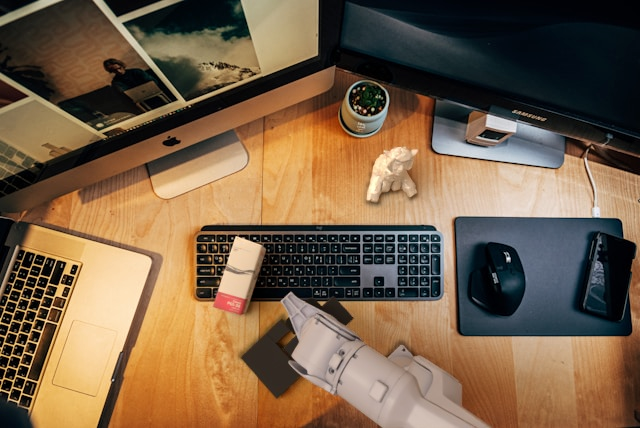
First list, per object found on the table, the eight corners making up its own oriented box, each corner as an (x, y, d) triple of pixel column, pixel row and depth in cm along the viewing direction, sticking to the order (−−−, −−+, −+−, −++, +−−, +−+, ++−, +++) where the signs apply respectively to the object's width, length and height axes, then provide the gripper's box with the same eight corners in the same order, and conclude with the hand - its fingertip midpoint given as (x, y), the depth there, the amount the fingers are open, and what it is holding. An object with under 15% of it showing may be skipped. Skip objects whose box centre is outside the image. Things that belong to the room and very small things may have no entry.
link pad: (352, 316, 71) (354, 318, 68) (301, 365, 69) (301, 368, 66) (332, 295, 71) (333, 296, 68) (282, 343, 70) (281, 345, 67)
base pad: (316, 357, 76) (316, 360, 73) (277, 394, 75) (276, 399, 72) (281, 318, 77) (280, 319, 74) (243, 354, 76) (240, 357, 73)
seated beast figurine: (366, 204, 81) (376, 191, 69) (358, 160, 82) (367, 139, 70) (416, 197, 81) (434, 182, 70) (407, 153, 83) (424, 130, 71)
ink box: (240, 316, 69) (263, 244, 71) (210, 307, 69) (234, 235, 71) (247, 312, 77) (267, 248, 79) (220, 304, 77) (241, 240, 79)
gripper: (260, 319, 56) (269, 312, 69) (338, 406, 54) (331, 382, 68) (301, 281, 57) (302, 281, 70) (378, 366, 55) (364, 350, 69)
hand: (318, 329), depth 69 cm, fingers closed on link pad, 4 cm apart
